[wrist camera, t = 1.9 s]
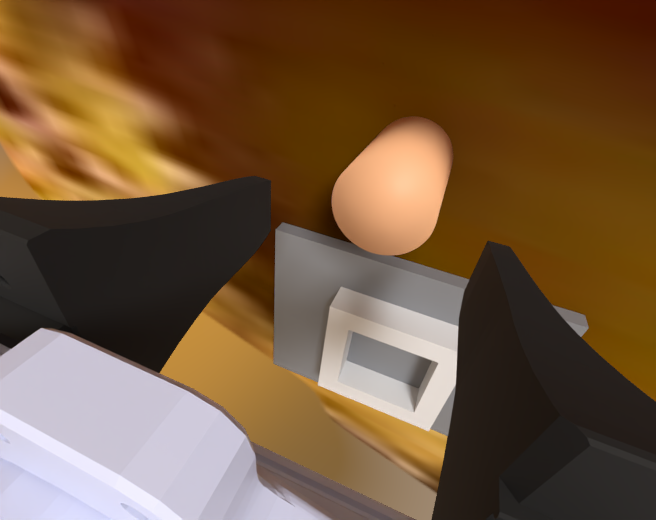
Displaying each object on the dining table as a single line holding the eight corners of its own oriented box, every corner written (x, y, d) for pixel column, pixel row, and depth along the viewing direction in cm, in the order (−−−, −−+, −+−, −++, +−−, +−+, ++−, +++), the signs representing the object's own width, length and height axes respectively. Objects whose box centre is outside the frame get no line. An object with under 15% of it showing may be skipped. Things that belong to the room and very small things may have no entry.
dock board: (584, 315, 19) (597, 357, 16) (485, 438, 27) (484, 478, 25) (282, 222, 23) (259, 245, 20) (278, 355, 31) (261, 382, 29)
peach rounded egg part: (465, 126, 16) (453, 172, 11) (438, 204, 18) (420, 268, 14) (380, 108, 17) (338, 144, 12) (366, 185, 19) (326, 238, 15)
